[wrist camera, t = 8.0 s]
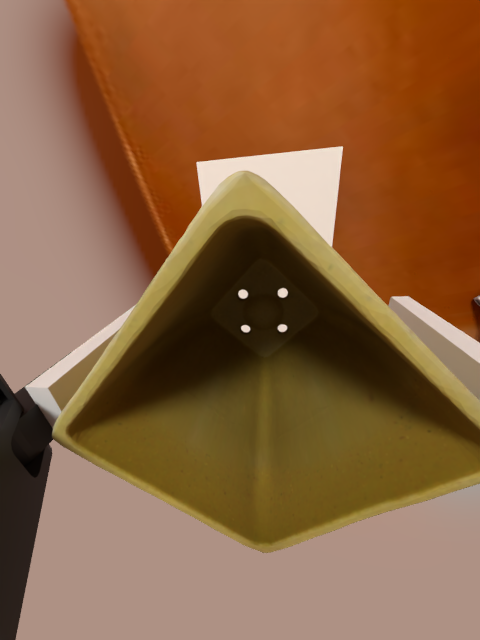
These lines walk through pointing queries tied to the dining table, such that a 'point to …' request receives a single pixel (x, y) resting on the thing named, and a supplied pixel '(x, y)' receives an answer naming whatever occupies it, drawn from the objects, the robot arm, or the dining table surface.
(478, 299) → the decorative sign
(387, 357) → the flower pot
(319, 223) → the display ledge
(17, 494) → the robot arm
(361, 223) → the dining table surface
